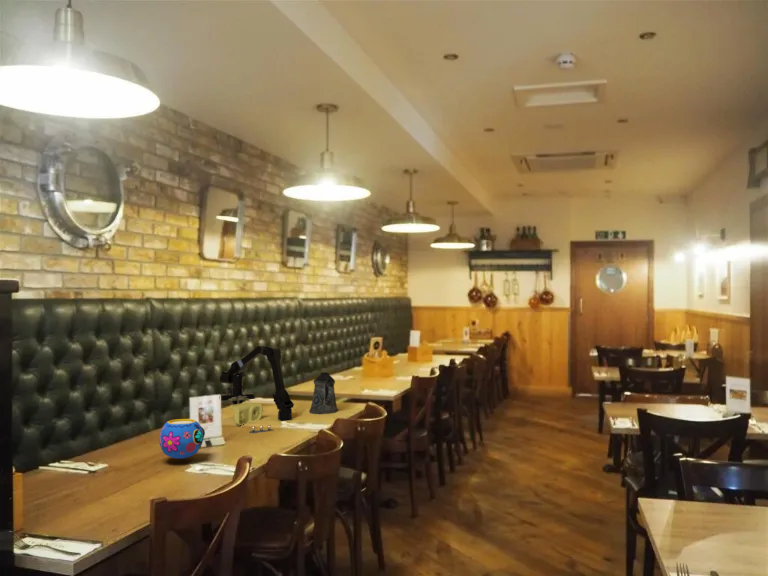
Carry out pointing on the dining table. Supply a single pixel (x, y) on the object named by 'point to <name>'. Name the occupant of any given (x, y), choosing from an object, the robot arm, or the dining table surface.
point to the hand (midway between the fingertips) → (236, 412)
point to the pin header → (260, 429)
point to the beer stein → (324, 395)
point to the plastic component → (247, 412)
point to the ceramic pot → (181, 438)
